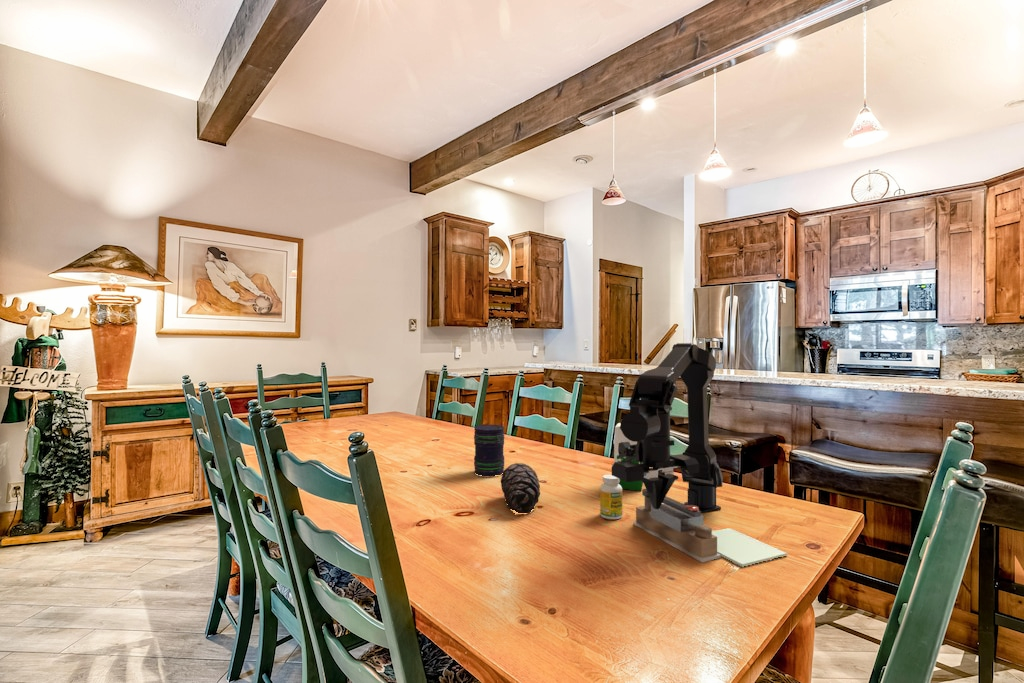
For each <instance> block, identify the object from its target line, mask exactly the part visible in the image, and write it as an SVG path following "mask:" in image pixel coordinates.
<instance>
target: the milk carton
mask: <svg viewBox="0 0 1024 683" xmlns="http://www.w3.org/2000/svg"><path fill="white" fill-rule="evenodd" d="M621 442H629V443H630V445H635V444H637V442H634V441H631V440H629V439H627V438H626V437H625V436H624V434H623V433H622V430H621V422H618V423H616V425H615V426H614V440H613V447H614V449H613V451H614V452H613V456H614V457H613V458H614V461H613V462H614V463H615V462H620V461H626V457H622V458H621V457H620V456H619V452H618V445H619V443H621ZM631 462H633V463H636V464H642V462H637V461H635V460H631ZM614 463H613V464H614ZM619 481H620V482H619V483H618V484H619V485H620V486H621V487H622V490H625V489H629V490H628V491H635V490H638V491H639V492H642V490H643V485H644V483H643V482H642V480H641V481H635V482H626V481H624V480H621V479H619ZM638 491H637V492H638Z"/></svg>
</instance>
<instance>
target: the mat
mask: <svg viewBox="0 0 1024 683" xmlns="http://www.w3.org/2000/svg"><path fill="white" fill-rule="evenodd" d="M712 535H714V536H716V537H717V553H718V554H720V555H721V558H723V557H724V558H723V559H725V558H726V559H725V560H727V559H728V560H727V561H729V560H730V561H729V562H731V561H732V562H731V563H733V564H735V565H737V564H738V565H737V566H739V567H741V566H742V567H741V568H745V567H744V566H746V567H749V566H748V565H750V566H753V565H752V564H754V565H756V564H755V563H758V564H760V563H759V562H762V561H766V560H770V559H773V558H777V557H782V556H785V555H787V556H788V552H786V551H783V550H780V549H779V548H776V547H774V546H772V545H769V544H767V543H765V542H763V541H761V540H757V539H755V538H754V537H751V536H749V535H747V534H744V533H742V532H740V531H737V530H735V529H733V528H731V527H727V528H723V529H717V530H712ZM782 558H783V557H782ZM770 561H771V560H770ZM766 562H767V561H766ZM762 563H763V562H762Z"/></svg>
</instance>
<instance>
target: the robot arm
mask: <svg viewBox="0 0 1024 683" xmlns="http://www.w3.org/2000/svg"><path fill="white" fill-rule="evenodd" d="M716 362H717V360H716V358H715V356H714V355H713V354H712V353H711V352H710V351H709V350H706V349H704V348H701V347H699V346H698V345H697V344H695V343H692V342H690V343H689V342H685V343H684V342H681V343H678V342H677V343H676V344H673V346H672V348H671V351H670V352H669V353H668V354H667V355H666V357H665V358H664V359H663V360H662V361H661V363H659V364H658V366H657V367H656V368H652V369H647V370H646V371H644V372H643V373H641V374H640V375H639V376H638V378H637V379H636V381H635V384H634V386H633V390H632V393H631V397H630V399H629V403H628V407H629V412H628V413H626V414H624V415H623V417H622V419H621V422H620V423H621V430H622V433H623V434H624V436H625V437H626V438H627V439H629V440H631V441H634V442H637V444H635V445H630V443H629V442H621V443H619V445H618V452H619V456H620V457H621V458H622V457H626V461H620V462H615V463H612V465H611V475H612V476H615V477H617V478H619V479H621V480H624V481H626V482H635V481H641V480H642V482H643V485H644V487H645V489H646V490H647V492H648V495H649V498H650V501H651V503H652V506H653V508H654V509H659V508H660V506H661V504H663V503H662V502H663V500H664V498H665V496H666V497H667V494H668V492H669V490H670V489H671V487H672V486H673V484H674V483H675V481H676V480H678V479H679V476H678V475H675V474H674V473H675V472H674V470H680V472H681V478H682V479H681V480H682V482H683V483H687V484H688V485H687V487H688V488H687V501H686V502H684V503H683V504H685V505H695V506H698V508H699V511H701V513H706V512H707V513H708V512H711V511H718V510H721V509H722V506H720V505H717V488H722V487H723V481H724V479H723V473H722V470H721V468H720V466H719V463H717V461H718V460H717V454H716V453H715V451H714V449H713V448H712V446H711V445H710V440H709V439H710V438H709V436H710V435H709V406H708V405H709V402H708V387H709V385H710V383H711V381H712V380H713V378H714V377H715V371H716V366H717V363H716ZM679 378H680V379H681V381H682V383H683V384H684V386H686V389H687V390H686V391H687V397H686V398H687V420H688V421H687V423H688V424H687V425H688V426H687V427H688V444H687V447H686V448H685V450H684V452H682V453H681V454H672V455H671V447H672V446H675V440H674V439H671V411H672V410H673V407H672V405H673V402H674V400H675V397H676V394H677V391H678V387H677V384H676V382H678V379H679ZM631 460H635V461H637V462H642V464H636V463H633V462H631Z"/></svg>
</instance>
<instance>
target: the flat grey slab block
mask: <svg viewBox="0 0 1024 683" xmlns="http://www.w3.org/2000/svg"><path fill="white" fill-rule="evenodd" d="M651 518H653V519H655V520H657V521H659V522H661V523H663V524H665V525H667V526H669V527H671V528H673V529H675V530H677V531H679V532H685V531H690V530H695V526H697V525H705V524H704V519H705V518H704V514H701V516H699V517H693V516H691V515H688V514H686V513H684V512H682V511H679V510H677V509H675V508H673V507H671V506H668V505H666V504H664V503H662V504H661V506H660V508H659V509H654V508H653V506H651Z"/></svg>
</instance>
